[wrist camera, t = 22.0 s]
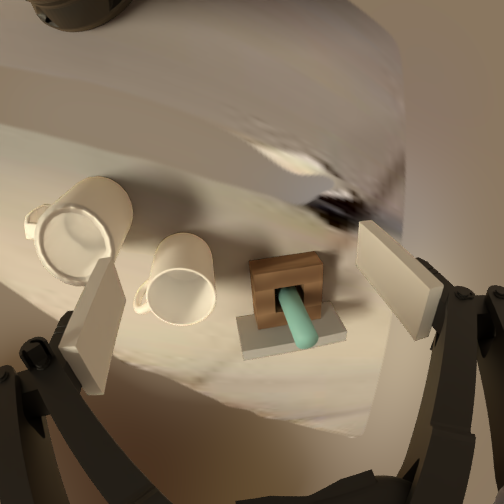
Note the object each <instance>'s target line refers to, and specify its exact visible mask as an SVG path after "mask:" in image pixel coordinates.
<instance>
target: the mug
mask: <svg viewBox="0 0 504 504" xmlns="http://www.w3.org/2000/svg"><path fill="white" fill-rule="evenodd" d="M132 219H133V209H132V203H131V201H130V199H129V196H128V194H127V193H126V191H125V190H124V189H123V188H122V187H121V186H120V185H119V184H118V183H116V182H114V181H113V180H111V179H109V178H105V177H100V176H96V177H88V178H86V179H84V180H82V181H80V182H78V183H77V184H76V185H74V186H73V187H72V188H71V189H70V190H68V191H67V192H66V193H65V194H64V195H63V196H61V197H60V198H59V199H58V200H57V201H56V202H54V203H53V204H52V205H49V204H44V205H42V206H40V207H38V208H36V209H34V210H32V211H31V212H30V213H29V214H28V215H27V216H26V217H25V233H26V239H34V244H35V248H36V252H37V255H38V257H39V259H40V261H41V262H42V264H43V266H44V267H45V268H46V269H47V270H48V271H49V272H50V273H51V274H52V275H53V276H54V277H55V278H57V279H59V280H60V281H62V282H64V283H66V284H70V285H74V286H85V285H86V283H87V281H88V279H89V277H90V275H91V273H92V271H93V269H94V267H95V265H96V263H97V261H98V259H100V258H106V257H112V258H113V261H114V263H115V260H116V258H117V256H118V253H119V251H120V249H121V247H122V244H123V242H124V240H125V238H126V236H127V233H128V231H129V229H130V227H131V224H132Z"/></svg>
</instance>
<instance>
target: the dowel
mask: <svg viewBox="0 0 504 504" xmlns="http://www.w3.org/2000/svg"><path fill="white" fill-rule="evenodd" d="M275 291H276V293H277V296H278V299H279V301H280V304H281V307H282V309H283V312H284V315H285V317H286V320H287V323H288V325H289V328H290V330H291V333H292V336H293V338H294V341H295V344H296V346H297V347H298V348H300V349H308V348H311V347H313V346H314V345H315V344H316V343H317V342H318V339H319V337H318V334H317V332H316V330H315V328H314V326H313V324H312V321H311V319H310V317H309V315H308V313H307V311H306V309H305V307H304V304H303V302H302V300H301V298H300V296H299V294H298V292H297V290H296V288H295V286H289V287H283V288H277V289H275Z"/></svg>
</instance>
